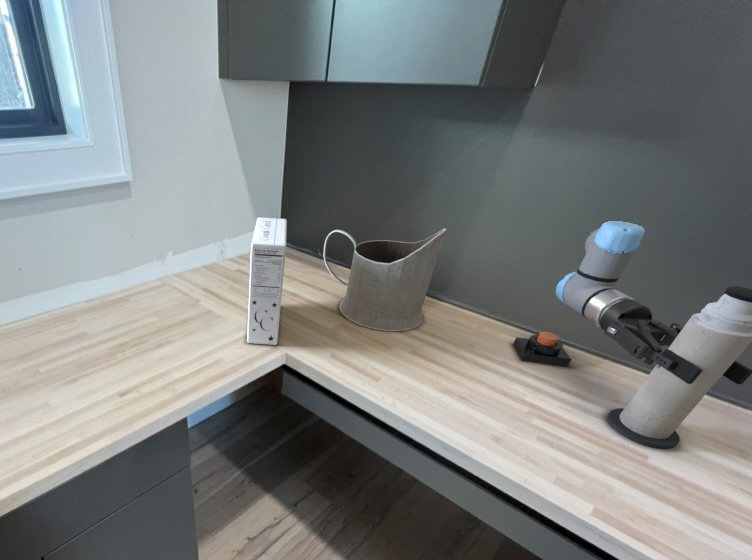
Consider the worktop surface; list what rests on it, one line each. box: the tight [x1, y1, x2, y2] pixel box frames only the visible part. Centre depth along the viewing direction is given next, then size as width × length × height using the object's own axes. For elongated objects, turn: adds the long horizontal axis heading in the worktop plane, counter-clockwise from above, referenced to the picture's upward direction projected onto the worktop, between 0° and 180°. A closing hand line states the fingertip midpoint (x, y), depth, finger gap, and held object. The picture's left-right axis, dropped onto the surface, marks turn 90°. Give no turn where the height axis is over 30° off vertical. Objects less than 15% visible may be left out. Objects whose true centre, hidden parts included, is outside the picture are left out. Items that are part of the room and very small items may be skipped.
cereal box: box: [246, 217, 288, 346], centre depth 106 cm, size 22×8×25 cm, turn 174°
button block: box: [512, 333, 572, 368], centre depth 103 cm, size 10×8×4 cm
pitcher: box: [323, 228, 447, 332], centre depth 116 cm, size 23×32×25 cm
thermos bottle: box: [620, 285, 752, 439], centre depth 73 cm, size 8×8×28 cm
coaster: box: [606, 407, 681, 450], centre depth 82 cm, size 11×11×1 cm
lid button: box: [536, 331, 560, 347], centre depth 101 cm, size 4×4×2 cm
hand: (720, 377), depth 69 cm, fingers closed on thermos bottle, 8 cm apart
